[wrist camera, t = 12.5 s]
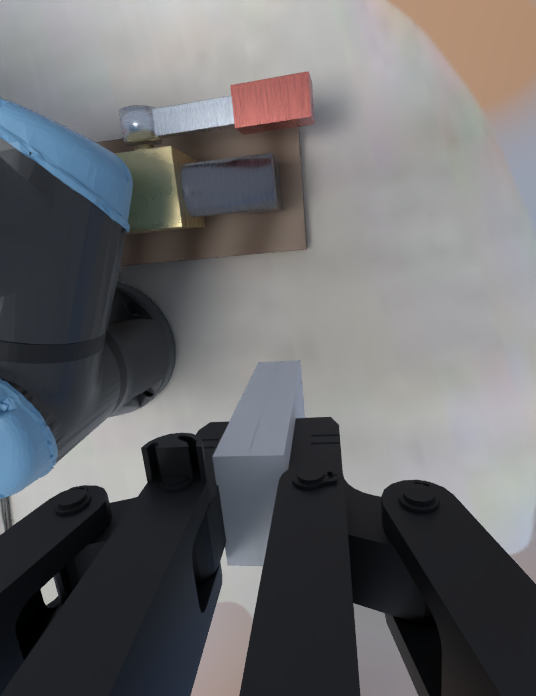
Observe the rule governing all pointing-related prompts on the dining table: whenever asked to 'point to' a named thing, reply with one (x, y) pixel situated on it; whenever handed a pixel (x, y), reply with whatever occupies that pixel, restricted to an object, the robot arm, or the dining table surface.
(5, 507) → the washcloth
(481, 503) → the dining table surface
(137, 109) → the valve lever
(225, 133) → the base board
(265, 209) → the valve pipe
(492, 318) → the dining table surface
